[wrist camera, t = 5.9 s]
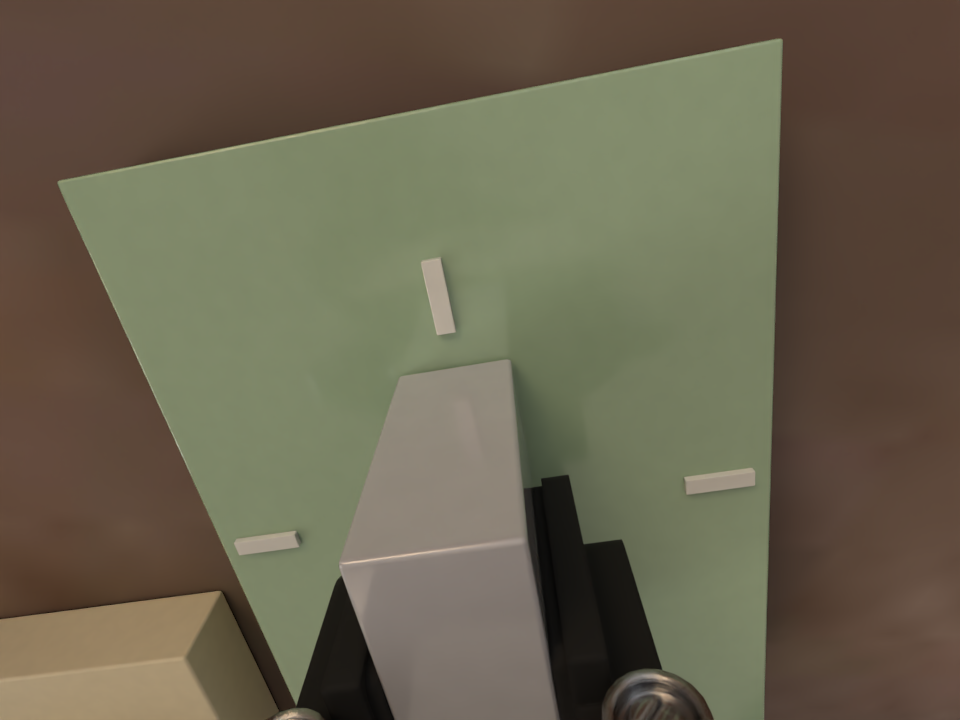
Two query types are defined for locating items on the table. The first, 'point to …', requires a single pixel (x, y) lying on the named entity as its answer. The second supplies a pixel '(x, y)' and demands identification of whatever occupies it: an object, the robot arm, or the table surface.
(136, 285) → the panel
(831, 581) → the table surface
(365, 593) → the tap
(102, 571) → the table surface
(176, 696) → the button box
